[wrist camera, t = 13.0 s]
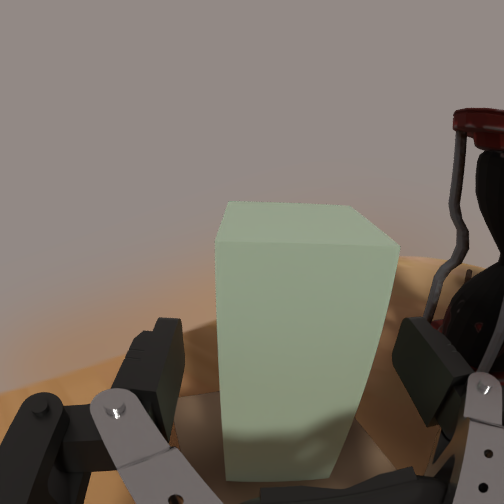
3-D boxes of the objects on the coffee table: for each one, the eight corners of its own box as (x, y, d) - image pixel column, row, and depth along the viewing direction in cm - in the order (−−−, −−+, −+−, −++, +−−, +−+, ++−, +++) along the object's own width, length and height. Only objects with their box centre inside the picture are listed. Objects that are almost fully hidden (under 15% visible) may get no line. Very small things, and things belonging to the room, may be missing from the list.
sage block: (230, 410, 17) (228, 201, 13) (315, 409, 17) (350, 205, 13) (226, 481, 12) (214, 240, 8) (328, 478, 12) (400, 246, 8)
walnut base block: (180, 450, 20) (169, 398, 17) (304, 422, 23) (316, 369, 21) (216, 568, 11) (209, 547, 9) (368, 516, 14) (402, 476, 12)
